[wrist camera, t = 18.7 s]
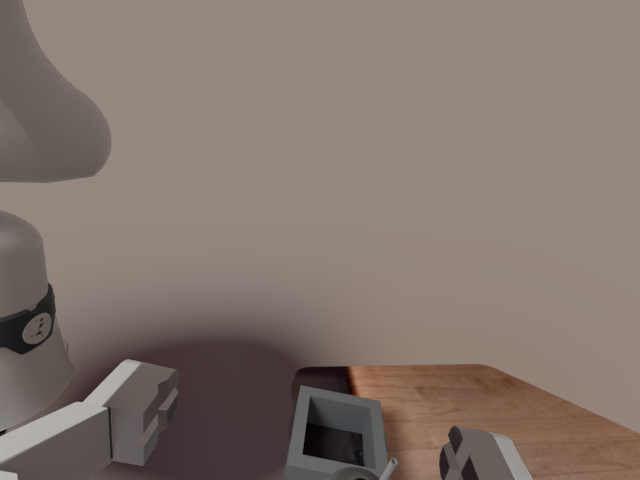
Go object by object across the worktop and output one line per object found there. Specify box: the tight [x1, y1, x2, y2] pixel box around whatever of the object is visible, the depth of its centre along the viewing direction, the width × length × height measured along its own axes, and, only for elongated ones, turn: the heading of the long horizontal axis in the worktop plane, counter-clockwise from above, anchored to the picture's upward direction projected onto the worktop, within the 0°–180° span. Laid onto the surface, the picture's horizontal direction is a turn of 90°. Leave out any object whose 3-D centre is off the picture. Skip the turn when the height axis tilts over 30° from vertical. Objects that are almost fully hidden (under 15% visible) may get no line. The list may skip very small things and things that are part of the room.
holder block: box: [284, 385, 390, 480], centre depth 41 cm, size 12×12×5 cm
